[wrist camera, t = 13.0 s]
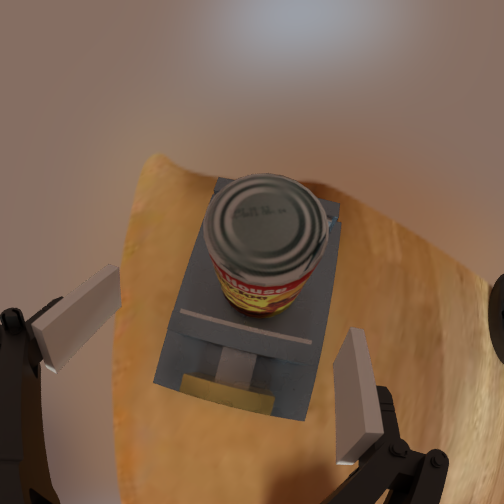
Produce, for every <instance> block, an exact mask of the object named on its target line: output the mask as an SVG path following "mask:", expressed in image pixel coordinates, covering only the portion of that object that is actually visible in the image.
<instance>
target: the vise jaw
mask: <svg viewBox="0 0 504 504" xmlns="http://www.w3.org/2000/svg"><path fill="white" fill-rule="evenodd" d="M167 329H169V330H171V331H173V332H175V333H177V334H179V335H182V336H186V337H189V338H192V339H196V340H199V341H203V342H206V343H210V344H213V345H217V346H221V347H223V350H222V354H221V358H220V361H219V365H218V369H217V373H216V376H215V377H213V376H210V375H206V374H203V373H199V372H192V373H184V374H183V378H182V382H181V386H180V390H179V392H181V393H185V394H188V395H191V396H194V397H197V398H201V399H204V400H208V401H211V402H215V403H218V404H222V405H226V406H230V407H234V408H238V409H242V410H247V411H251V412H255V413H260V414H265V415H270V416H271V412H272V408H273V404H274V401H275V396H274V395H273V393H272V392H271V391H270V390H266V389H262V388H257V387H253V386H250V382H251V378H252V374H253V370H254V366H255V362H256V358H257V356H261V357H266V358H270V359H275V360H279V361H284V362H289V363H294V364H299V365H314V363H315V359H316V354H317V349H318V346H316V345H311V344H312V340H308V339H303V338H298V337H293V336H288V335H284V334H279V333H275V332H270V331H266V330H261V329H257V328H253V327H249V326H245V325H241V324H237V323H233V322H229V321H225V320H221V319H217V318H213V317H210V316H206V315H202V314H199V313H195V312H192V311H188V310H185V309H181V310H180V312H176V311H172V315H171V318H170V321H169V325H168V328H167Z"/></svg>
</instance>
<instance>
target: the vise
mask: <svg viewBox="0 0 504 504" xmlns="http://www.w3.org/2000/svg"><path fill="white" fill-rule="evenodd" d="M233 181H234V180H231V179H226V178H220V177H219V178H218V180H217V183H216V186H215V188H214V194H213V195H212V198H211V200H210V203H211V201H212V199H213V198H214V196H215V195H216V194H217V193H218V192H219V191H220V190H221V189H222V188H223V187H224V186H226V185H227V184H229V183H231V182H233ZM318 200H319V201H320V203H321V205H322V207H323V208H324V210H325V212H326V216H327V220H328V224H329V237H328V244H327V246H326V249H325V252H324V254H323V257H322V258H321V260H320V261H319V263H318V265H317V266H316V268H315V269H314V271H313V272H312V274H311V276H310V277H309V279H308V280H307V282H306V283H305V285H304V286H303V288H302V289H301V291H300V293H299V294H298V296H297V297H296V299H295V300H294V301H293V303H292V304H291V305H290V306H289V308H287V309H286V310H285V311H283V312H282V313H280V314H278V315H276V316H273V317H270V318H262V319H258V318H252V317H248V316H245V315H243V314H241V313H239V312H238V311H236V310H235V309H234V308H233V307H232V306H231V305H230V304H229V302H228V301H227V300H226V298H225V296H224V293H223V291H222V288H221V285H220V283H219V280H218V277H217V274H216V271H215V269H214V266H213V263H212V260H211V257H210V255H209V252H208V249H207V246H206V243H205V240H204V231H203V222H202V225H201V228H200V231H199V234H198V236H197V239H196V242H195V245H194V248H193V251H192V254H191V257H190V260H189V263H188V266H187V269H186V272H185V275H184V278H183V281H182V284H181V288H180V291H179V294H178V297H177V300H176V304H175V307H174V310H173V311H176V312H180V310H181V309H185V310H188V311H192V312H195V313H199V314H202V315H206V316H210V317H213V318H217V319H221V320H225V321H229V322H233V323H237V324H241V325H245V326H249V327H253V328H257V329H261V330H266V331H270V332H275V333H279V334H284V335H288V336H293V337H298V338H303V339H308V340H312V344H311V345H316V346H318V349H317V354H316V359H315V363H314V365H299V364H294V363H289V362H284V361H279V360H275V359H270V358H266V357H261V356H257V358H256V362H255V366H254V370H253V374H252V378H251V382H250V386H253V387H257V388H262V389H266V390H270V391H271V392H272V393H273V395H274V396H275V401H274V404H273V408H272V412H271V416H275V417H281V418H287V419H293V420H299V421H305V418H306V414H307V410H308V406H309V402H310V398H311V394H312V390H313V386H314V382H315V377H316V373H317V369H318V364H319V360H320V355H321V350H322V345H323V340H324V335H325V330H326V325H327V319H328V314H329V308H330V302H331V296H332V290H333V284H334V277H335V270H336V263H337V256H338V248H339V240H340V231H341V222H337V219H338V218H339V208H340V203H336V202H332V201H328V200H324V199H320V198H318ZM210 203H209V204H210ZM204 218H205V217H204ZM203 221H204V219H203ZM222 350H223V347H221V346H217V345H213V344H210V343H206V342H203V341H199V340H196V339H192V338H189V337H186V336H182V335H179V334H177V333H175V332H173V331H171V330H169V329H168V330H167V334H166V337H165V341H164V344H163V348H162V351H161V355H160V358H159V362H158V366H157V370H156V373H155V377H154V381H153V383H156V384H158V385H161V386H164V387H167V388H170V389H173V390H176V391H179V390H180V386H181V382H182V378H183V374H184V373H192V372H199V373H203V374H206V375H210V376H213V377H215V376H216V373H217V369H218V365H219V361H220V358H221V354H222Z"/></svg>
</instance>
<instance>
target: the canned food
mask: <svg viewBox="0 0 504 504" xmlns="http://www.w3.org/2000/svg"><path fill="white" fill-rule="evenodd" d="M203 231H204V240H205V243H206V246H207V249H208V252H209V255H210V257H211V260H212V263H213V266H214V269H215V271H216V274H217V277H218V280H219V283H220V285H221V288H222V291H223V293H224V296H225V298H226V300H227V301H228V302H229V304H230V305H231V306H232V307H233V308H234V309H235V310H236V311H238V312H239V313H241V314H243V315H245V316H248V317H252V318H258V319H262V318H270V317H273V316H276V315H278V314H280V313H282V312H283V311H285V310H286V309H287V308H289V306H290V305H291V304H292V303H293V301H294V300H295V299H296V297H297V296H298V294H299V293H300V291H301V289H302V288H303V286H304V285H305V283H306V282H307V280H308V279H309V277H310V276H311V274H312V272H313V271H314V269H315V268H316V266H317V265H318V263H319V261H320V260H321V258H322V257H323V254H324V252H325V249H326V246H327V244H328V237H329V224H328V220H327V216H326V212H325V210H324V208H323V207H322V205H321V203H320V201H319V200H318V198H317V197H316V196H315V195H314V194H313V193H312V192H311V191H310V190H309V189H308V188H306V187H305V186H303V185H302V184H300V183H299V182H297V181H296V180H293V179H290V178H288V177H285V176H282V175H275V174H269V173H264V174H251V175H248V176H245V177H241V178H238V179H236V180H234V181H233V182H231V183H229V184H227V185H226V186H224V187H223V188H222V189H221V190H220V191H219V192H218V193H217V194H216V195H215V196H214V198H213V199H212V201H211V203H210V204H209V206H208V207H207V210H206V214H205V218H204V221H203Z"/></svg>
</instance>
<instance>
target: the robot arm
mask: <svg viewBox="0 0 504 504" xmlns="http://www.w3.org/2000/svg"><path fill="white" fill-rule="evenodd" d="M120 307H121V293H120V274H119V267H117V266H114V265H111V264H108V265H107V266H105V267H104V268H103V269H101V270H100V271H99V272H97V273H96V274H94V275H93V276H92V277H90V278H89V279H88V280H86V281H85V282H84V283H82V284H81V285H80V286H78V287H77V288H76V289H75V290H73V291H72V292H71V293H69V294H68V295H67V296H66V297H59V298H57V299H54V300H52V301H51V302H50V303H49V304H47V306H45V307H43V308H42V310H40V311H38V312H37V313H36V314H35V315H34V316H32V317H31V318H30V319H29V320H27V321H26V322H25V321H24V317H23V314H22V312H21V310H20V309H18V308H9V309H6V310H4V311H3V312H2V313H1V315H0V320H1V323H2V325H0V504H60V501H59V498H58V496H57V494H56V492H55V490H54V489H53V486H52V483H51V478H50V473H49V468H48V462H47V456H46V449H45V442H44V433H43V421H42V407H41V366H40V362H41V361H42V360H44V363H45V365H46V367H47V368H48V369H50V370H51V371H53V372H55V373H58V372H59V371H60V370H61V369H62V368H63V366H64V365H65V364H66V363H67V362H68V361H69V360H70V359H71V358H72V357H73V356H74V355H75V354H76V352H77V351H78V350H79V349H80V348H81V347H82V346H83V345H84V344H85V343H86V342H87V341H88V340H89V339H90V338H91V337H92V336H93V335H94V334H95V332H97V330H98V329H99V328H100V327H101V326H102V325H103V324H104V323H105V322H106V321H107V320H108V319H109V318H110V317H111V316H112V315H113V314H114V313H115V312H116V311H117V310H118V309H119V308H120ZM489 327H490V334H491V339H492V343H493V346H494V349H495V352H496V354H497V356H498V358H499V359H500V361H501V362H502V363H503V364H504V274H502V275H501V276H500V277H499V278H498V279H497V281H496V282H495V284H494V287H493V290H492V293H491V297H490V304H489ZM333 369H334V388H335V413H336V464H342V465H353V464H354V463H355V462H356V461H357V460H359V467H358V468H357V469H356V470H355V471H353V472H352V473H351V474H350V475H349V477H348V478H347V479H346V480H345V481H344V482H343V483H342V484H341V485H340V486H339V487H338V488H337V489H336V490H335V491H334V492H333V493H332V494H330V495H329V496H328V497H327V498H326V499H325V500H324V501H323V502H322V503H320V504H375V502H376V501H377V500H378V499H379V498H380V496H381V495H382V494H383V493H384V491H385V490H386V489H390V490H389V492H388V495H387V497H386V499H385V501H384V503H383V504H439V503H440V499H441V496H442V492H443V488H444V484H445V480H446V476H447V471H448V467H449V459H448V457H447V455H446V454H445V453H444V452H443V451H441V450H439V449H433V450H431V451H429V452H428V453H427V454H423V453H419V452H416V451H413V450H410V447H409V445H408V444H407V443H406V442H405V441H404V440H403V439H401V438H400V433H399V428H398V423H397V418H396V413H395V408H394V405H393V399H392V395H391V393H390V392H389V390H388V389H387V387H384V386H376V384H375V379H374V374H373V369H372V364H371V360H370V355H369V350H368V346H367V342H366V338H365V333H364V329H359V328H354V327H350V329H349V331H348V334H347V336H346V338H345V340H344V342H343V344H342V347H341V349H340V351H339V353H338V355H337V357H336V359H335V361H334V363H333Z"/></svg>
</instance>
